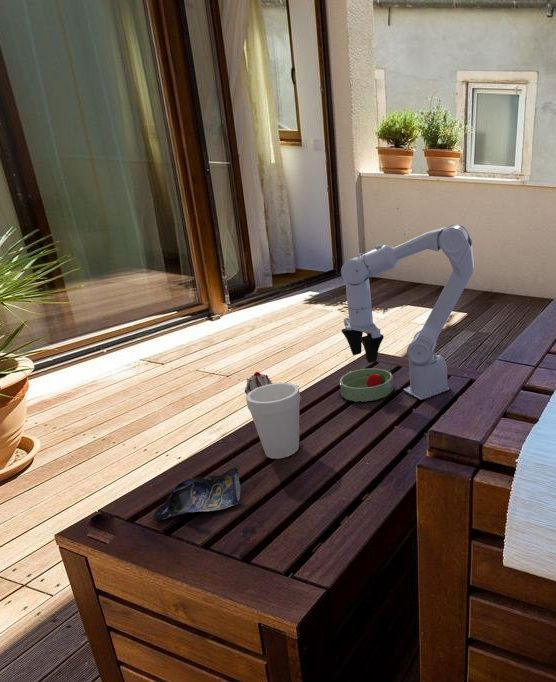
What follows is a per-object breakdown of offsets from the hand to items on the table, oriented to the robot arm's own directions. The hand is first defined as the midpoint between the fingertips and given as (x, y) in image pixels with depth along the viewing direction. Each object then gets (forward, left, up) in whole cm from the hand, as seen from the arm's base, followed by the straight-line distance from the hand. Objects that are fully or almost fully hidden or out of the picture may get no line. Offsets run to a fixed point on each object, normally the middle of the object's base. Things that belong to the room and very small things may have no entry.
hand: (364, 357), depth 121 cm
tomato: (0, +1, -8) cm, 8 cm away
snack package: (+44, +22, -9) cm, 50 cm away
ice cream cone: (+27, +6, -9) cm, 30 cm away
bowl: (0, +1, -9) cm, 9 cm away
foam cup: (+27, +14, -9) cm, 32 cm away
